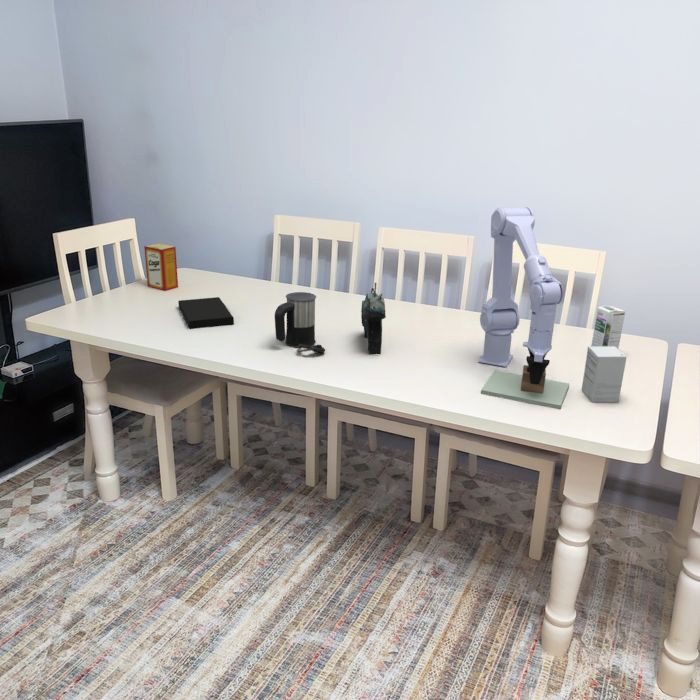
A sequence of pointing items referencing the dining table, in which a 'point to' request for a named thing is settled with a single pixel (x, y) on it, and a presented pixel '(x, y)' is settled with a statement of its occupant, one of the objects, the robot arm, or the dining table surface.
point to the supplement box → (603, 374)
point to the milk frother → (297, 321)
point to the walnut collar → (527, 385)
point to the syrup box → (608, 327)
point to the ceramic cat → (373, 320)
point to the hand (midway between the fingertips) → (534, 377)
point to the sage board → (511, 389)
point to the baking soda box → (161, 266)
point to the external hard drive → (205, 313)
